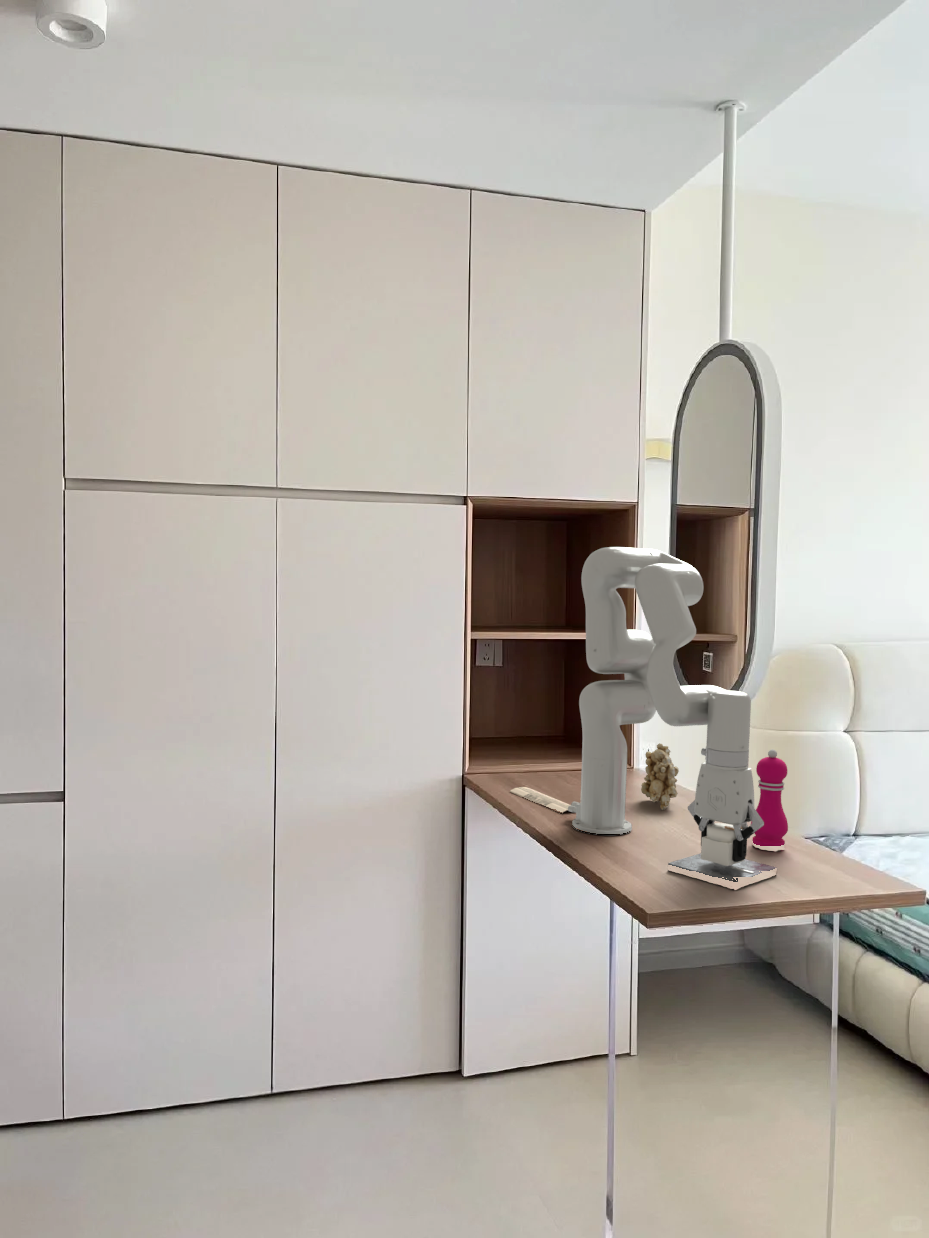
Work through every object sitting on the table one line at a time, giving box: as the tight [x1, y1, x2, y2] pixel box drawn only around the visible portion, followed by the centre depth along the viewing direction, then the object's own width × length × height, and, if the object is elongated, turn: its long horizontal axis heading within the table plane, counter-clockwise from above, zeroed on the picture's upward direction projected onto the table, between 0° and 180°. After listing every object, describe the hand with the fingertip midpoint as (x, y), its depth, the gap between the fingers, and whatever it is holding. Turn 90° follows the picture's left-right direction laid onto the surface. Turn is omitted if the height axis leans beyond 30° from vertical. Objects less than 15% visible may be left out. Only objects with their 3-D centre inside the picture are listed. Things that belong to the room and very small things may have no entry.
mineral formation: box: [640, 743, 680, 811], centre depth 231 cm, size 8×13×15 cm, turn 6°
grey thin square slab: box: [667, 852, 778, 882], centre depth 179 cm, size 14×14×5 cm
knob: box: [700, 822, 744, 866], centre depth 179 cm, size 6×6×6 cm
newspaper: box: [509, 786, 571, 814], centre depth 232 cm, size 24×7×2 cm, turn 27°
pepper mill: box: [750, 749, 789, 846], centre depth 197 cm, size 7×7×20 cm
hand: (723, 855), depth 179 cm, fingers closed on knob, 5 cm apart
